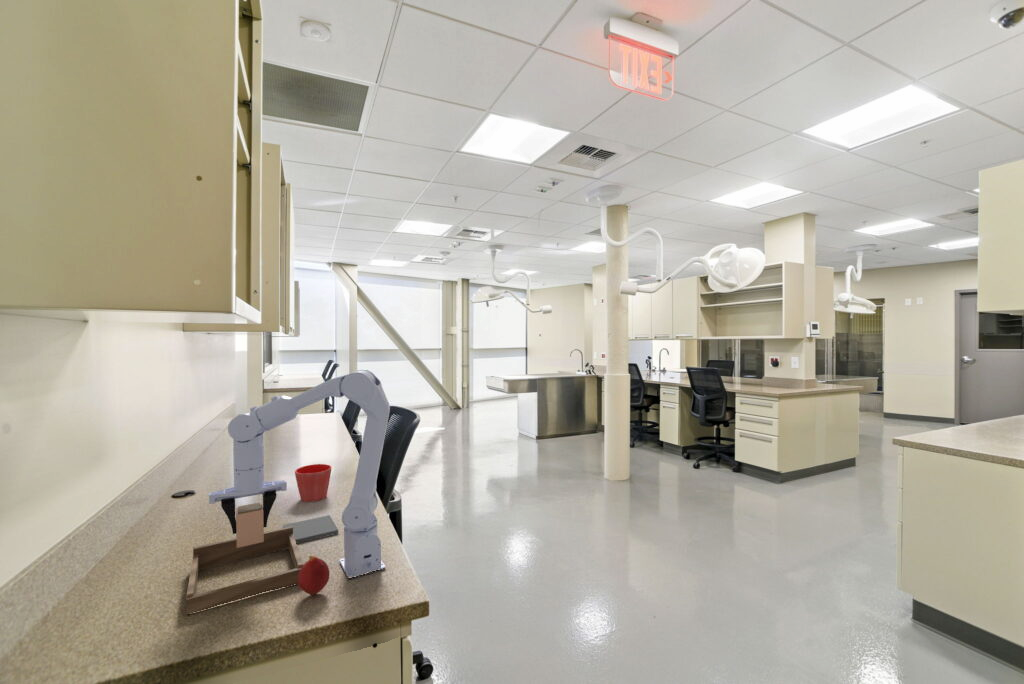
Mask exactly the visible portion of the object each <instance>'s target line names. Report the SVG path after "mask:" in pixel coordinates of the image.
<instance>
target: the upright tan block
mask: <svg viewBox="0 0 1024 684" xmlns="http://www.w3.org/2000/svg"><path fill="white" fill-rule="evenodd" d="M235 518H236V534H235V536H236V537H235V538H236V544H237V548H239V547H243V546H247V545H252V544H256V543H261V542H264V532H265V531H264V530H265V529H264V528H265V527H264V522H263V502H255V503H250V504H244V505H239V506H236V507H235Z"/></svg>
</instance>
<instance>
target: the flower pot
mask: <svg viewBox="0 0 1024 684" xmlns="http://www.w3.org/2000/svg"><path fill="white" fill-rule="evenodd" d="M331 474H332V465H330V464H326V463H317V464H316V463H315V464H314V463H313V464H308V465H307V464H306V465H304V466H300V467H299V468H296V469H295V471H294V475H295V480H296V485H297V489H298V490H297V491H298V494H299V497H300V500H301V502H303V501H305V502H304V503H313V502H312V501H314V502H317V501H321V499H322V500H324V499H326V498H327V496H328V491H329V485H330V480H331ZM323 498H324V499H323Z"/></svg>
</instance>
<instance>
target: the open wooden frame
mask: <svg viewBox="0 0 1024 684" xmlns="http://www.w3.org/2000/svg"><path fill="white" fill-rule="evenodd" d="M286 548H289V549H288V551H289V554H291V555H290V558H291V562H292V561H293V562H292V565H293V564H294V565H293V568H292V569H289V570H285V571H281V572H277V573H273V574H269V575H266V576H261V577H258V578H254V579H251V580H247V581H243V582H238V583H236V584H232V585H228V586H223V587H221V588H217V589H213V590H210V591H206V592H201V593H197V589H198V581H199V574H200V573H199V572H200V571H201V570H205V569H210V568H215V567H218V566H219V567H220V566H223V565H226V564H232V563H235V561H236V562H239V561H243V559H244V560H247V558H248V559H252V558H256V557H260V556H264V555H263V554H265V555H267V554H266V553H269V554H272V553H271V552H273V553H275V552H274V551H277V552H280V551H279V550H281V551H284V550H283V549H285V550H287V549H286ZM259 555H260V556H259ZM255 556H256V557H255ZM251 557H252V558H251ZM303 565H304V562H303V558H302V556H301V553H300V551H299V547H298V543H297V544H296V541H295V538H294V535H293V526H290V527H286V528H283V527H282V528H277V529H273V530H268V531H264V542H261V543H256V544H252V545H247V546H243V547H239V548H237V544H236V537H235V538H231V539H226V540H222V541H217V542H212V543H207V544H203V545H199V546H195V547H193V548H192V561H191V568H190V574H189V579H188V585H187V591H186V600H185V601H186V602H185V603H186V604H185V606H186V614H185V615H186V616H187V614H190V613H193V612H197V611H201V610H204V609H208V608H211V607H214V606H217V605H220V604H224V603H228V602H231V601H235V600H238V599H242V598H245V597H248V596H252V595H256V594H259V593H262V592H266V591H270V590H275V589H279V588H282V587H287V586H290V587H292V586H291V585H294V584H297V585H298V574H299V571H300V570H301V568H302V566H303ZM294 586H295V585H294ZM287 588H288V587H287Z"/></svg>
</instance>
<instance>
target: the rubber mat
mask: <svg viewBox="0 0 1024 684" xmlns="http://www.w3.org/2000/svg"><path fill="white" fill-rule="evenodd" d="M290 526H293V535H294V538H295V541H296V543H297V544H299V543H298V542H301V543H303V542H302V541H305V542H308V541H307V540H309V541H312V540H311V539H313V540H316V539H315V538H318V539H321V538H320V537H322V538H325V537H324V536H326V537H328V536H327V535H330V536H333V535H332V534H334V535H337V534H336V533H338V534H339V528H338V527H337V525H336V524H335V522H334V521H333V518H332V517H331V515H330V514H328V515H323V516H318V517H315V518H314V517H313V518H310V519H305V520H301V521H295V522H291V523H287V524H282V528H286V527H290Z"/></svg>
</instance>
